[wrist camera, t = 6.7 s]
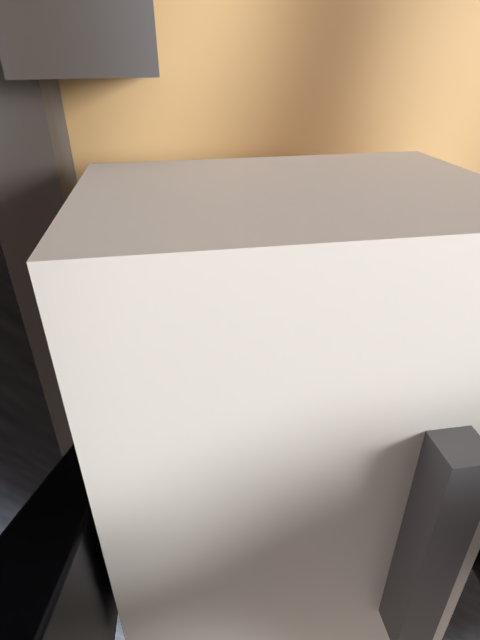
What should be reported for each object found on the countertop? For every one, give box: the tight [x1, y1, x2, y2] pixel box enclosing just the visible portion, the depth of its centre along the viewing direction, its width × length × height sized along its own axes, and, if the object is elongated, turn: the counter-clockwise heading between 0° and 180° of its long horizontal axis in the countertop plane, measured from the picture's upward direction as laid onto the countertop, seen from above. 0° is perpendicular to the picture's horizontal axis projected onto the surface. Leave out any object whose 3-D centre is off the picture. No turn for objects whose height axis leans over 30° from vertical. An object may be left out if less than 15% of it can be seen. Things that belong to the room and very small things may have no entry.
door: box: [26, 151, 480, 640], centre depth 8 cm, size 6×9×5 cm, turn 0°
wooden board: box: [0, 0, 480, 457], centre depth 11 cm, size 12×14×4 cm
